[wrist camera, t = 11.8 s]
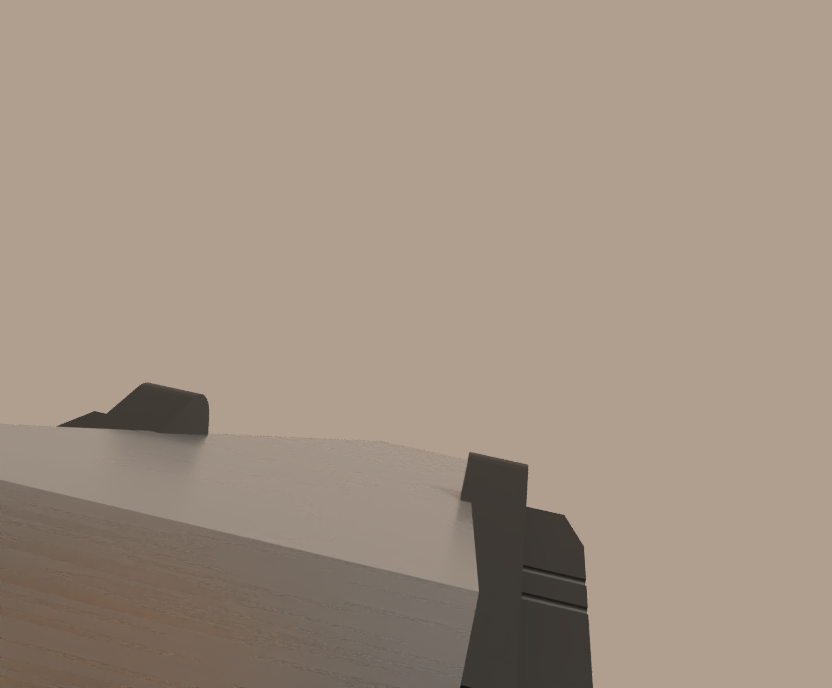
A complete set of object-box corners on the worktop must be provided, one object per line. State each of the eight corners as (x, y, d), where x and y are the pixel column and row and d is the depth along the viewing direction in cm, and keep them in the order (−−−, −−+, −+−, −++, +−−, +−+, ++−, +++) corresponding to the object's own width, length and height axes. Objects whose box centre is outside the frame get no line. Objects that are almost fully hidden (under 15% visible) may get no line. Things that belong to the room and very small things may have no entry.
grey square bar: (275, 1601, 3) (477, 591, 3) (-580, 1288, 3) (-295, 411, 3) (449, 546, 30) (467, 459, 31) (364, 526, 31) (383, 441, 31)
